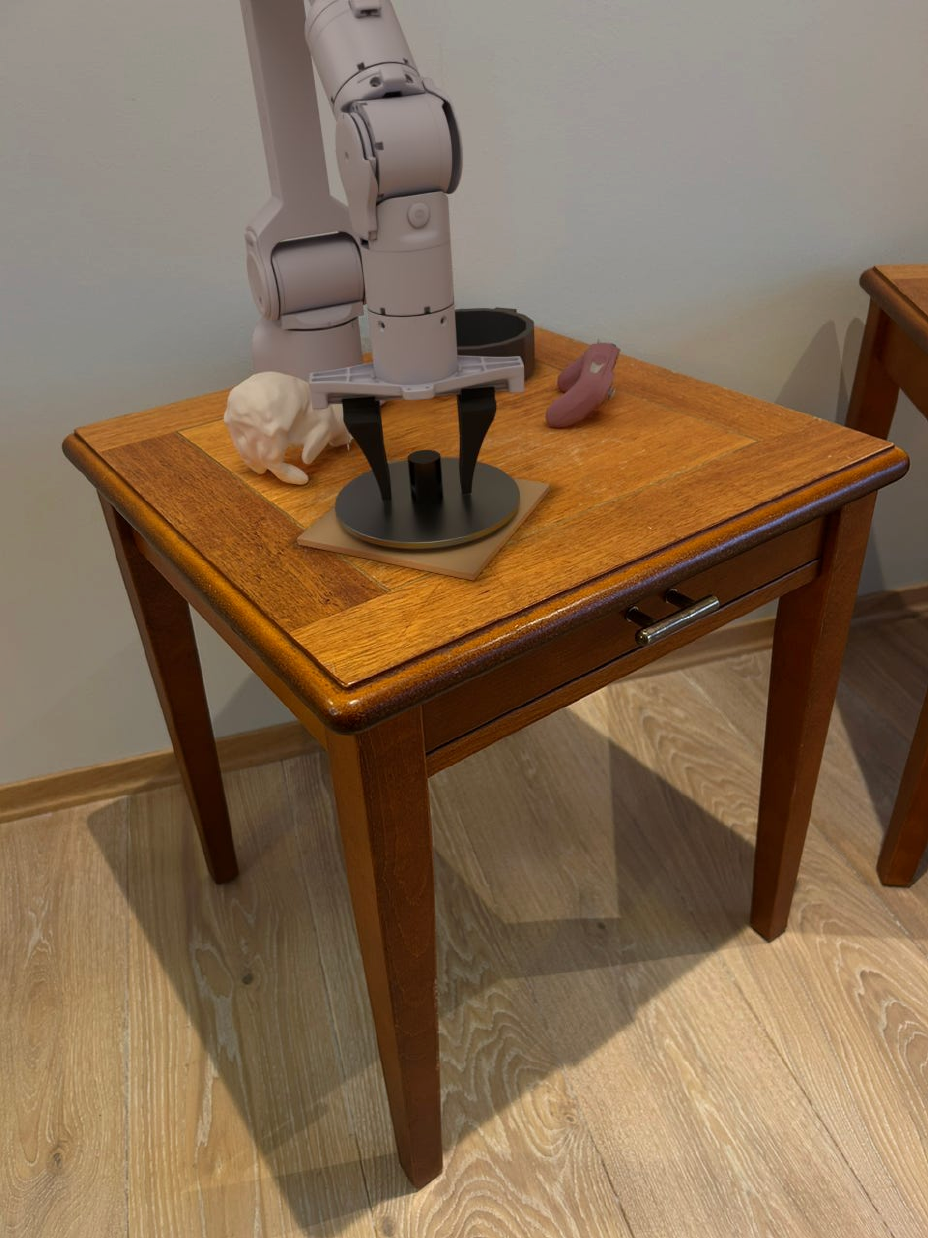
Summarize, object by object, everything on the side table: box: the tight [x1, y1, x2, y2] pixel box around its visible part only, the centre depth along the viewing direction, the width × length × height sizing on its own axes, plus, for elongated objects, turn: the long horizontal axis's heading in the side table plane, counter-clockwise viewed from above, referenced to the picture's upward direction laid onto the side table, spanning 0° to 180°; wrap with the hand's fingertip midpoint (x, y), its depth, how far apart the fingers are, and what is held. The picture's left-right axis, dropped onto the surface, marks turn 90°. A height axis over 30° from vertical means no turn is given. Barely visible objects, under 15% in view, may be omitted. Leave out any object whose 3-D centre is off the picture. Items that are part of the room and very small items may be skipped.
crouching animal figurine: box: [222, 372, 354, 486], centre depth 79 cm, size 6×8×12 cm
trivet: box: [296, 458, 551, 582], centre depth 72 cm, size 14×14×1 cm
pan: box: [455, 306, 536, 382], centre depth 96 cm, size 13×18×4 cm
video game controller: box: [544, 338, 621, 429], centre depth 86 cm, size 10×5×7 cm, turn 168°
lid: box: [334, 449, 520, 549], centre depth 70 cm, size 14×14×4 cm
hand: (426, 491), depth 71 cm, fingers open, 5 cm apart
